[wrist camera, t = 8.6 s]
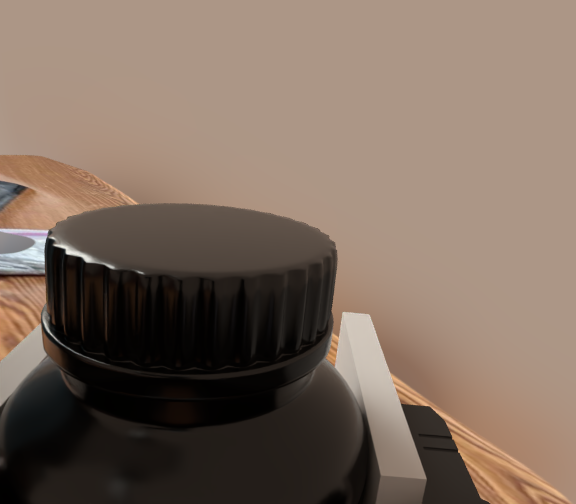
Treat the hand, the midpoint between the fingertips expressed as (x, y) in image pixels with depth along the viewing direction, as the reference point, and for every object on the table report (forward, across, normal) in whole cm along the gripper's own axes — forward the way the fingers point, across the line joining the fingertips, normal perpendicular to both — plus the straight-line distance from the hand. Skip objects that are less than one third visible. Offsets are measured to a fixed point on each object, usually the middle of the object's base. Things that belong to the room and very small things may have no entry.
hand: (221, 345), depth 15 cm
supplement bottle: (-5, 0, -7) cm, 9 cm away
